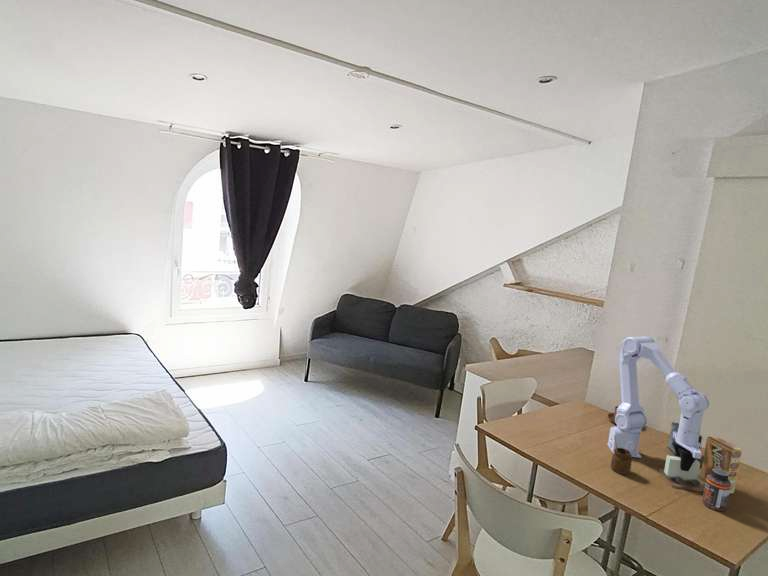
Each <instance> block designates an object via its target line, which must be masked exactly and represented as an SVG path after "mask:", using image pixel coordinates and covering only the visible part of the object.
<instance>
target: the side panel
mask: <svg viewBox="0 0 768 576" xmlns="http://www.w3.org/2000/svg"><path fill="white" fill-rule="evenodd" d="M664 469H665V468H658V471H659V472H660V473H661V475H662V476H663V478H664V479H665V480H666V481H667V483H668V484H669V485H670V486H671V488H675V489H682V490H687V491H695V492H701V493H704V488H705V483H706V482H704V481H703V479H702V478H701V477H700V476H701V475H699V474H698V480H694V479H693V480H692V479H686V478H680V477H672V476H667V475H666V474H665V472H664Z"/></svg>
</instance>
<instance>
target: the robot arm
mask: <svg viewBox="0 0 768 576" xmlns="http://www.w3.org/2000/svg"><path fill="white" fill-rule="evenodd" d="M620 343H621V344H620V345H621V346H620V347H621V349H620V352H619V355H618V361H619V362H618V363H619V375H620V376H619V379H620V394H621V403H620V405H618V406H619V407H618V408H617V414H616V416H615V422H616V423H615V424H616V426H611V427H610V429H609V434H608V442H607V443H606V445H607V446H608V448H609V449H610V451H611V452H612V454H613V453H614V450H615V448H616V446H615V440H614V435H615V438H616V443H617V448H623V449H626V450H628V451H629V450H630V452H631V458H638V459H642V456H641V454H640V453H639V452H638V451H639V444H640V438H641V431H642V430H643V428H644V427H646V425H647V423H648V421H647V416H646V415H645V412H644V411H645V408H644V407H642V406H641V405H640V403H639V399H640V398H639V386H638V369H637V362H638V361H639V360H640V359H641V358H644V359H648V360H649V361H651V363H652V364H653V365H654V366H655V367H656V368H657V369H658V371H660V372H661V374H662V375H663V376H664V377H665V383H666V385H667V386H668V388H669V389H670V390H671V391H672V392H673V393H674V395H675V396H676V397H677V399H678V405H679V408H680V419H679V422H678V423H679V428H678V432H673V437H674V438H675V440H676V442H672V445H673V447H674V450H675V455H674V456H676V457H681V463H680V467H681V470H683V471H689V469H690V468H691V466H692V464H693V463H694V461H695V460H696V459H697V458H698V460H700V459H701V460H702V455H703V453H702V452H701V447H702V443H701V444H700V443H699V442H698V440H699V434H700V433H701V429H702V428H701V427H702V424H703V417H704V412H705V411H706V410H707V409H708V408H709V405H710V400H709V399H708V397H707V396H706V394H704V393H702V392H700V391H698V389H696V388H694V386H693V385H692V384H691V383H690V382H689V380H688V377H687V376H686V375H683V373H681V372H676V370H675V369H674V367H673V366H672V365H671V364H670V362H669V361H668V359H667V358H666V356H664V353H662V352H661V350H660V347H659V346H660V345H659V344H658V343H657V342H656V341H655V339H654V338H653V337H652V336H649V335H643V336H628V337H626V338H625V339H623V340H622V341H621V342H620ZM700 435H701V434H700ZM627 442H628V443H627ZM632 442H633V443H632ZM629 443H630V444H629ZM626 444H627V445H626ZM633 444H634V445H633ZM631 445H632V446H631ZM633 446H634V448H633ZM627 447H628V448H627ZM699 447H700V449H699ZM632 449H633V450H632Z"/></svg>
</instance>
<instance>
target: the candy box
mask: <svg viewBox="0 0 768 576" xmlns="http://www.w3.org/2000/svg"><path fill="white" fill-rule="evenodd" d="M742 453H743V449H742V448H740V447H738V446H736V445H734V444H732V443H731V442H728V441H727V440H724V439H722V438H720V437H719V436H707V437H706V442H705V447H704V454H703V459H702V466H701V469H700V470H701V471H700V475H699V476H700V477H701V478H702V479H703V481H704V482H705V483H706V478H707V475H708V474H711V473H712V469H713V468H718V469H721V470H724V471H726V472H727V473H728V474H729V476H728V480H729V481H730V482H731V488H730V493H729V495H730V494H734V493H735V489H736V485H737V479H738V474H739V473H738V472H739V468H740V462H741V457H742Z"/></svg>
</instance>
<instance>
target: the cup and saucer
mask: <svg viewBox="0 0 768 576" xmlns="http://www.w3.org/2000/svg"><path fill="white" fill-rule="evenodd" d="M619 406H620V405H617V406H615V407H614V411H613V412H610V413H608V414H607V418H608V419H609V420H610V421H611V422H612V423H614V424H616V422H615V416H616V414H617V408H618V407H619Z"/></svg>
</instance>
